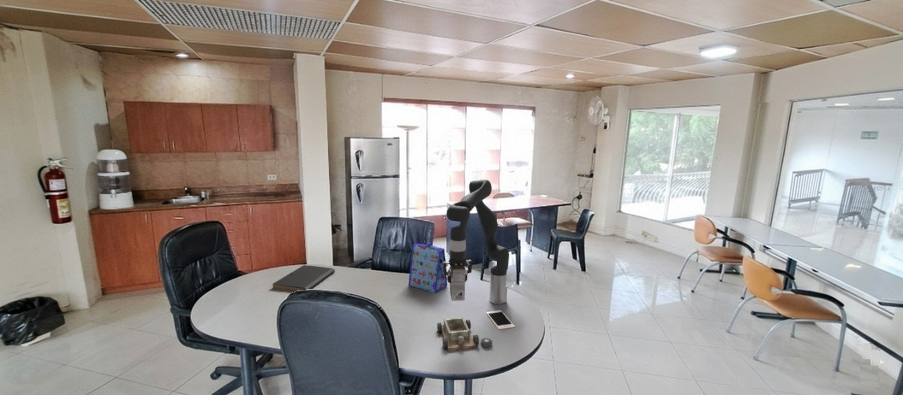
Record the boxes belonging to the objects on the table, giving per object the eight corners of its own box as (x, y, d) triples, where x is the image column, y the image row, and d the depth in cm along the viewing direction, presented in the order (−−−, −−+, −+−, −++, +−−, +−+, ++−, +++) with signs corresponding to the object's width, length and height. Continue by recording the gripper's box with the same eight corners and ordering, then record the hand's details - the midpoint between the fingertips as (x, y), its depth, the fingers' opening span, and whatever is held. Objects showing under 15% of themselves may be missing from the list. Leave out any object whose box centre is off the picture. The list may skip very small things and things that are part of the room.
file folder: (303, 264, 259) (334, 268, 254) (303, 270, 260) (335, 273, 255) (271, 283, 227) (307, 287, 222) (272, 289, 228) (307, 294, 223)
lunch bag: (447, 286, 234) (448, 243, 229) (435, 294, 223) (435, 248, 218) (420, 278, 246) (420, 237, 241) (407, 285, 235) (407, 242, 229)
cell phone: (498, 330, 184) (498, 328, 184) (485, 313, 201) (485, 311, 201) (515, 328, 187) (515, 326, 187) (500, 311, 204) (500, 309, 204)
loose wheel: (489, 341, 174) (490, 337, 174) (493, 347, 169) (493, 343, 169) (479, 342, 173) (479, 338, 173) (482, 348, 168) (482, 344, 168)
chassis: (468, 325, 188) (468, 315, 187) (479, 347, 169) (479, 336, 168) (436, 328, 185) (436, 318, 184) (444, 351, 166) (444, 340, 165)
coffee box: (449, 292, 179) (449, 261, 176) (462, 292, 180) (463, 260, 177) (451, 301, 170) (451, 268, 167) (464, 300, 171) (465, 267, 168)
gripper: (470, 245, 176) (469, 277, 179) (441, 246, 173) (440, 280, 176) (474, 250, 169) (474, 284, 172) (444, 251, 166) (443, 286, 169)
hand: (457, 281), depth 174 cm, fingers closed on coffee box, 7 cm apart
